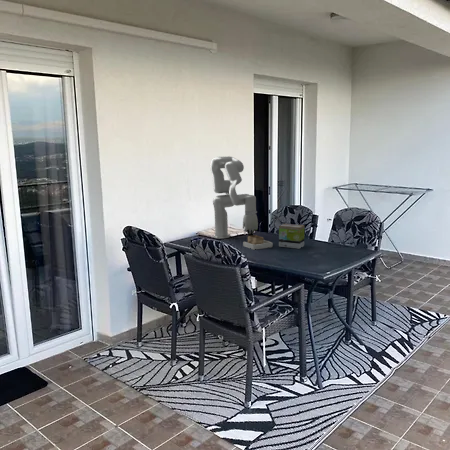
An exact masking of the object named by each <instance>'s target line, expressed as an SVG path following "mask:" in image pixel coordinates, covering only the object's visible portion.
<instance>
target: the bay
mask: <svg viewBox="0 0 450 450" xmlns="http://www.w3.org/2000/svg"><path fill="white" fill-rule="evenodd" d="M263 242H264V244H257V245H253V244H250V243H248V241H243V242H242V243H243V244H242V246H243V247H244V248H248V249H250V248H251V249H250V250H254V251H255V249H256V250H262V249H269V248H273V243H274V242H272V241H269V240H265V239H263Z"/></svg>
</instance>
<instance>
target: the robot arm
mask: <svg viewBox="0 0 450 450" xmlns="http://www.w3.org/2000/svg"><path fill="white" fill-rule="evenodd" d="M209 167H210V171H211V175H212V186H213V191H214V193H215V194H219V195H216V196H214V198H213V199H212V205H213V209H214V210H213V211H214V231H213V232H214V235H215V236H213V235H212V238H214V239H220V240H221V239H229V238H231V235H230V234H229V233H228V231H229V230H228V228H229V226H228V220H229V219H228V212H227V209H226V208H232V207H233V206H234V207H235V206H237V207H239V206H244V215H243V218H242V229H243V232H246V234H247V237H248V236H252V235H254V234H255V231H258V228H259V227H258V226H259V222H258V221H259V220H258V216H257V213H258V211H257V198H256V196H255V195H254V194H249V193H244V194H243V193H242V194H241V193H239V194H238V193H237V191H236V186H237V185H239V184H241V182H242V180H243V179H242V176H241V174H240V173H242V172H243V171H244V169H245V168H244V167H245V166H244V164H243V162H242V161H241V160H240V159H237V158H235V157H233V156H230V155H229V156H216V157H214V158H212V159H211V161H210V164H209ZM222 169H224V170H225V173H226V175H227V178H228V179H226V180H225V174H224V172H223V170H222ZM220 194H221V195H220Z"/></svg>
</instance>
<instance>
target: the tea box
mask: <svg viewBox="0 0 450 450" xmlns="http://www.w3.org/2000/svg"><path fill="white" fill-rule="evenodd" d="M304 246H305V224H293V223H282V224H281V225H278V247H279V248H281V247H282V248H289V249H290V248H291V249H297V250H299V249H300V250H301V247H302V248H303V247H304Z"/></svg>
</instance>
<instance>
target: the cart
mask: <svg viewBox="0 0 450 450" xmlns="http://www.w3.org/2000/svg"><path fill="white" fill-rule="evenodd" d="M263 240H264V237H263V236H260V235H257V234H253V235H252V236H248V235H247V243H250V244H253V245H257V244H264V242H263Z"/></svg>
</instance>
